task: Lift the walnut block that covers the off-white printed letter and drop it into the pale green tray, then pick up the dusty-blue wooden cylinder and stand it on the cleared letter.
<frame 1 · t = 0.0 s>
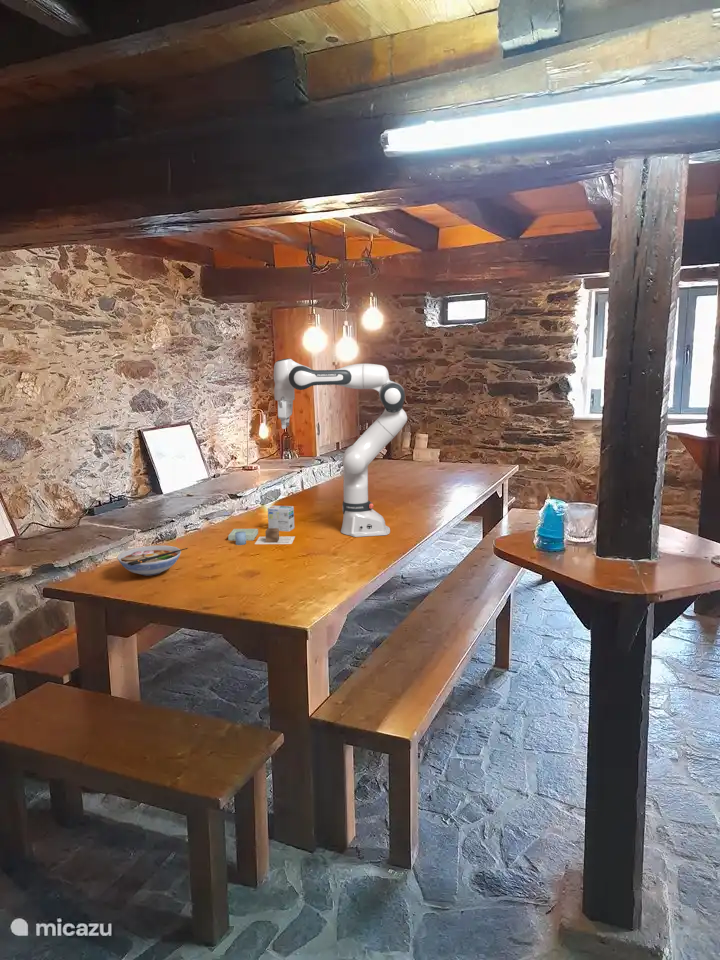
hand: (285, 427, 293), 48 cm above the table, tool pointing down, fingers open, 8 cm apart
walnut block: (272, 540, 287), resting on letter
light bulb box: (281, 529, 307), on the table
tray: (243, 537, 294), on the table
ramen bowl: (151, 573, 247), on the table
letter: (275, 540, 288), on the table
blue cylinder: (240, 544, 283), on the table
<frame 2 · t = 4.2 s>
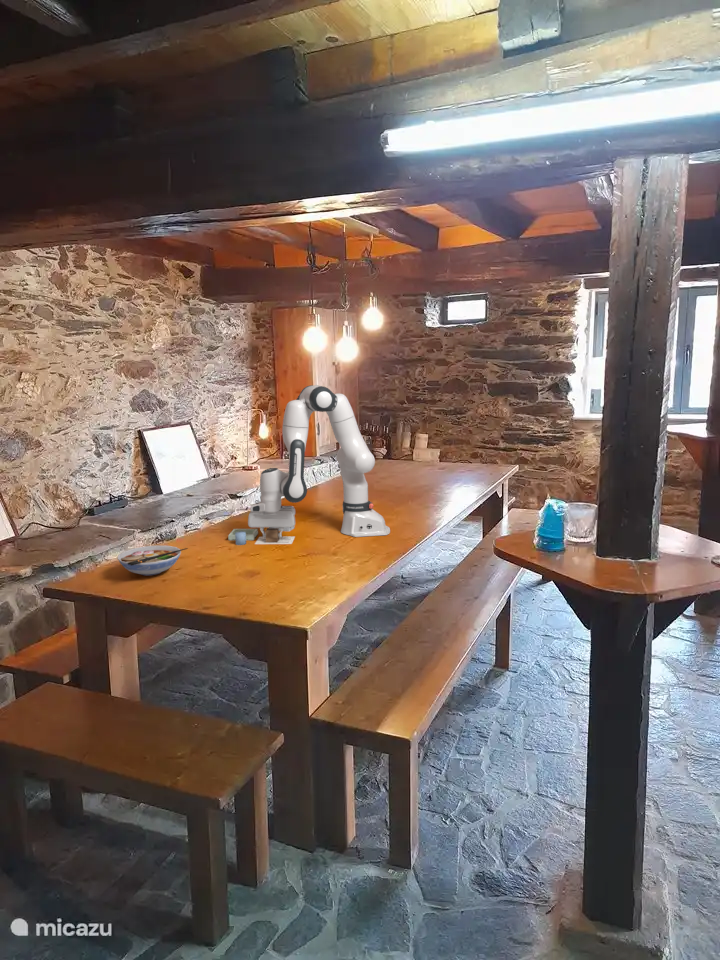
hand: (272, 536, 287), 2 cm above the table, tool pointing down, fingers closed on walnut block, 5 cm apart
walnut block: (272, 540, 287), resting on letter, touching gripper
everything else where it was.
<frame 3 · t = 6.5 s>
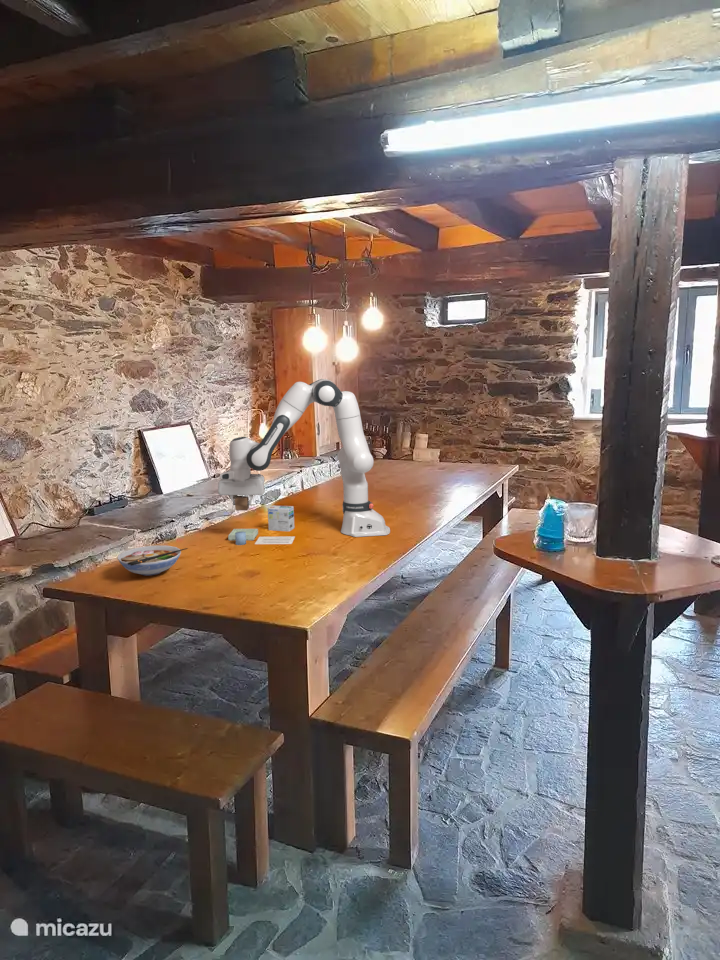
hand: (242, 504, 291), 15 cm above the table, tool pointing down, fingers closed on walnut block, 5 cm apart
walnut block: (242, 508, 291), point 13 cm above the table, touching gripper
everything else where it was.
when the fingers open (4 cm above the table, at t = 8.9 s): walnut block drops 1 cm, resting on tray.
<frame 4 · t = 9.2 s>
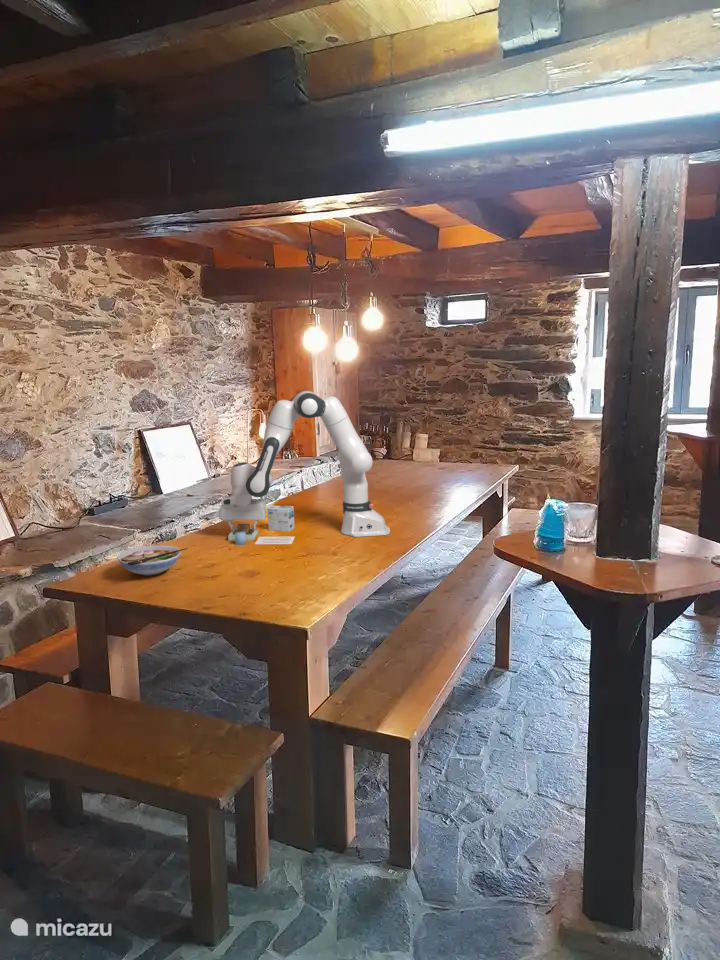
hand: (243, 529, 293), 4 cm above the table, tool pointing down, fingers open, 8 cm apart
walnut block: (243, 536, 294), point 1 cm above the table, touching tray
everything else where it was.
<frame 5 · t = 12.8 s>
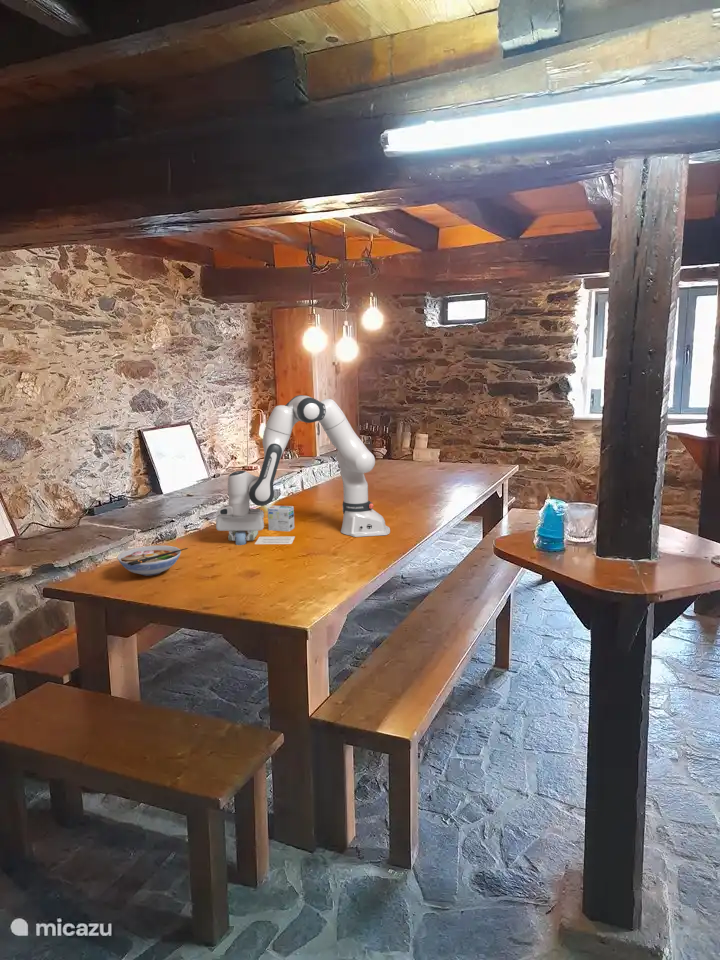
hand: (240, 540, 283), 2 cm above the table, tool pointing down, fingers closed on blue cylinder, 4 cm apart
blue cylinder: (241, 544, 283), on the table, touching gripper
everything else where it was.
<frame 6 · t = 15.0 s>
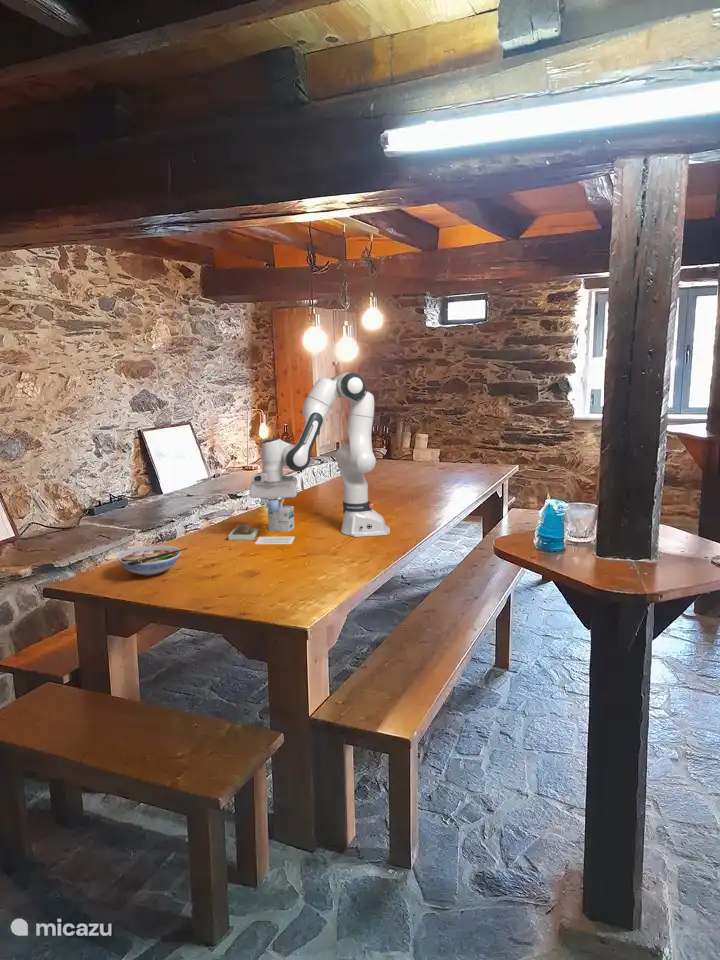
hand: (274, 507, 285), 15 cm above the table, tool pointing down, fingers closed on blue cylinder, 4 cm apart
blue cylinder: (274, 511, 285), point 13 cm above the table, touching gripper
everything else where it was.
when the fingers open (3 cm above the table, at t = 17.6 s): blue cylinder drops 1 cm, resting on letter.
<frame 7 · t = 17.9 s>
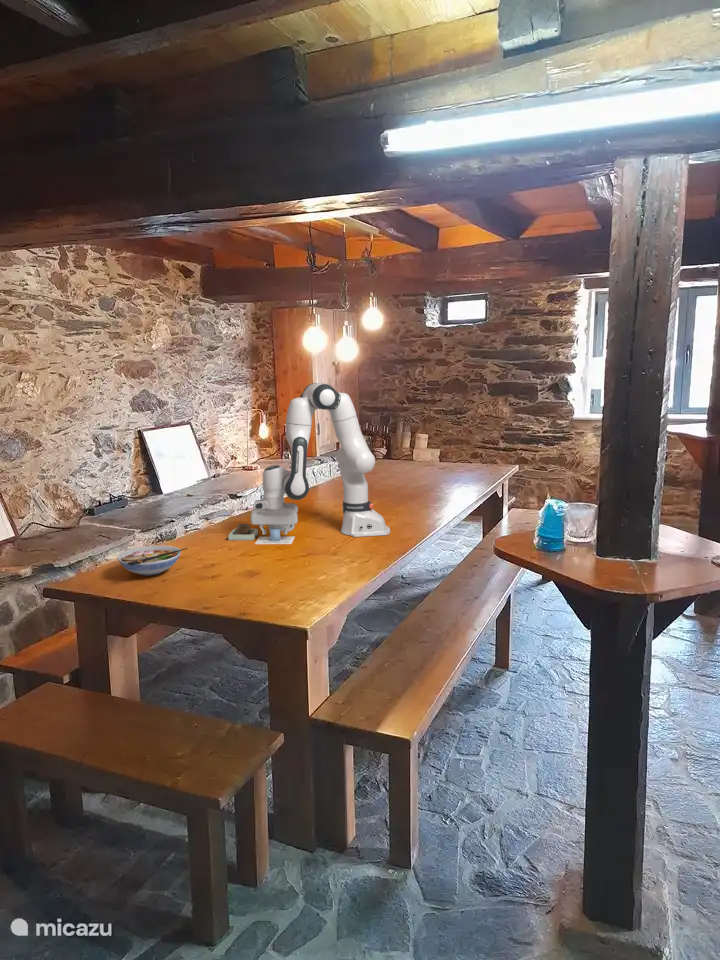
hand: (275, 534, 287), 3 cm above the table, tool pointing down, fingers open, 8 cm apart
blue cylinder: (275, 540, 288), resting on letter
everything else where it was.
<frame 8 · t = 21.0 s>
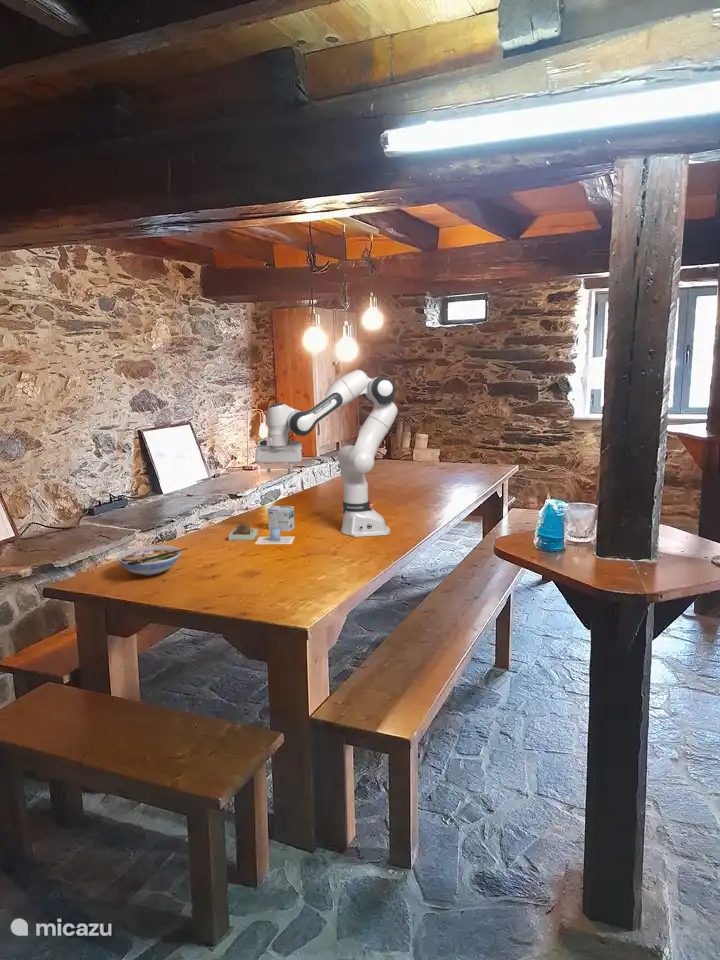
hand: (279, 472, 288), 29 cm above the table, tool pointing down, fingers open, 8 cm apart
nothing on the table moved.
at the end: blue cylinder inside the target area on the letter (0.1 cm from its centre), point 0.2 cm above the letter's base; blue cylinder tilted 0°; walnut block inside the target area on the tray (0.1 cm from its centre), point 0.6 cm above the tray's base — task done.
